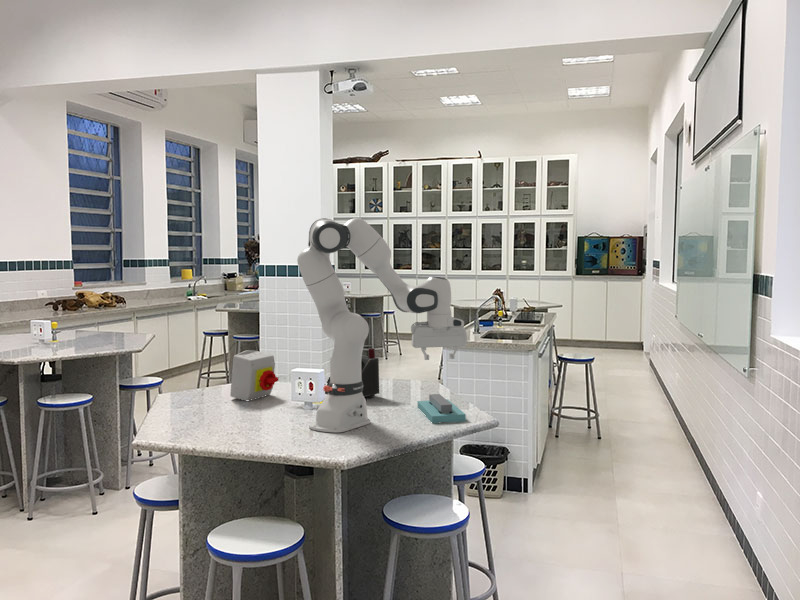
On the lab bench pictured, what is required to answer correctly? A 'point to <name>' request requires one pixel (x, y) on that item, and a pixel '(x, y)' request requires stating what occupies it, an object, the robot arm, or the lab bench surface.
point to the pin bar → (440, 403)
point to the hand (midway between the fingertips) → (439, 359)
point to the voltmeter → (368, 374)
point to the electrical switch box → (252, 375)
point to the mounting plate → (436, 415)
